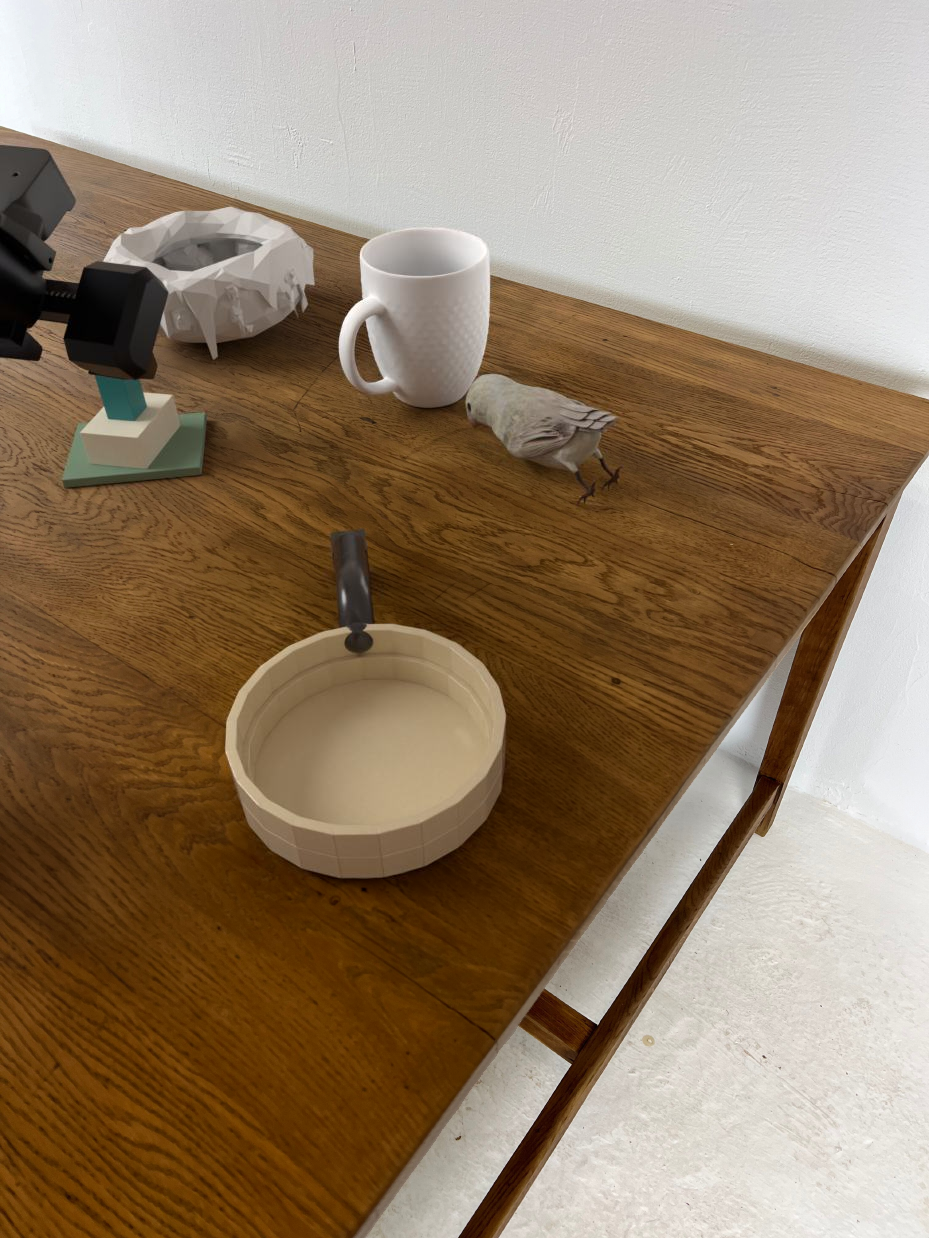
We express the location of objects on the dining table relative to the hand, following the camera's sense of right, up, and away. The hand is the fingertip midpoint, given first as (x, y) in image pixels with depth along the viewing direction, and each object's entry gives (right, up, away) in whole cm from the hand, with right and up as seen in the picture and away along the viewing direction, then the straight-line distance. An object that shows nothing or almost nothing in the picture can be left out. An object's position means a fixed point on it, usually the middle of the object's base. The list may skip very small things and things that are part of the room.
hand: (95, 363), depth 65 cm
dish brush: (-2, -3, +15) cm, 15 cm away
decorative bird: (+31, -5, +13) cm, 34 cm away
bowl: (0, +12, +33) cm, 35 cm away
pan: (+20, -26, -10) cm, 35 cm away
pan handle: (+18, -18, -1) cm, 26 cm away
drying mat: (-2, -3, +15) cm, 16 cm away
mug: (+21, +3, +22) cm, 31 cm away
